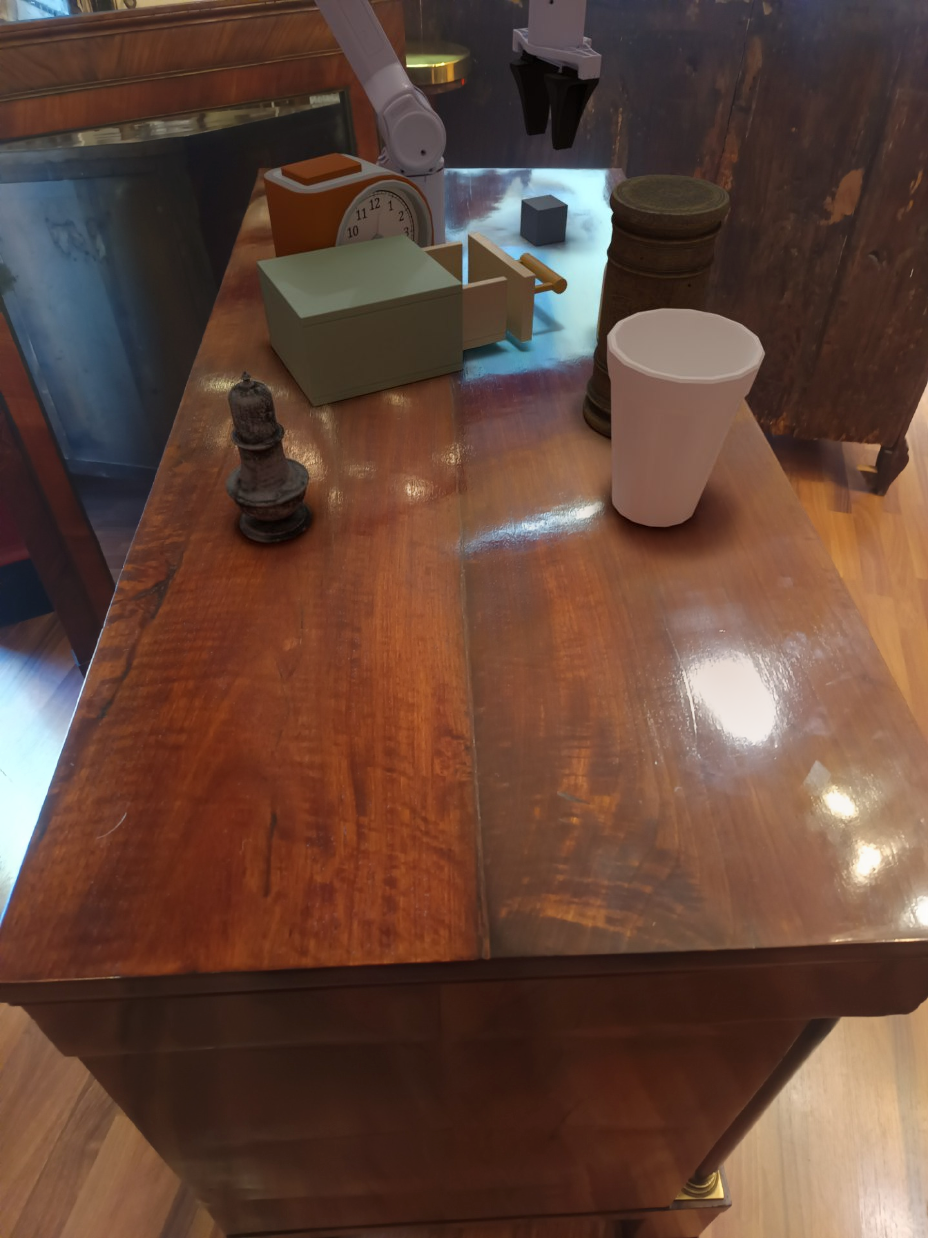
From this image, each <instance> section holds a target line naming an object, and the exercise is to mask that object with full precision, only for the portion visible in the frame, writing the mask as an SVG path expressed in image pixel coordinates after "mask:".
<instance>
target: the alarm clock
mask: <svg viewBox="0 0 928 1238" xmlns="http://www.w3.org/2000/svg"><path fill="white" fill-rule="evenodd" d="M375 164H376V163H372V162H370V161H367V160H365V159H362V158H360V157H358V156H354V155H350V154H346V153H338V152H334V153H329V154H325V155H322V156H318V157H314V158H310V159H306V160H302V161H298V162H294V163H290V164H286V165H281V166H280V167H276V168H273V169H270V170H268V171H266V172H265V173H264V174H263V178H262V179H263V185H264V191H265V198H266V203H267V209H268V215H269V222H270V228H271V234H272V240H273V246H274V247H273V248H274V253H275V258H278V257H284V256H289V255H294V254H300V253H305V252H310V251H316V250H321V249H326V248H332V247H337V246H342V245H348V244H353V243H358V242H364V241H369V240H374V239H380V238H385V237H390V236H396V235H401V234H405V235H406V236H407V237H409V238H410V239H411V240H412V241H413V242H414V243H416V244H417V245H418V246H419V247H420V248H425V247H430V246H434V228H433V220H432V213H431V210H430V207H429V204H428V202H427V199H426V197H425V196H424V194H423V193H422V191H421V190H420V189H419V187H418V186H417V185H416V184H415V183H414V182H412V181H411V180H410V179H408V178H407V177H405V176H403V175H400V174H398V173H395V172H393V171H390V170H388V169H385V168H383V167H380V166H378V165H375Z"/></svg>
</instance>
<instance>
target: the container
mask: <svg viewBox="0 0 928 1238" xmlns="http://www.w3.org/2000/svg"><path fill="white" fill-rule="evenodd" d="M730 201H731V200H730V196H729V193H728V192H727V191H726V190H725V189H724V188H723V187H721V186H719V185H718V184H715V183H713V182H711V181H707V180H705V179H701V178H698V177H697V178H696V177H692V176H686V175H675V174H648V175H647V174H646V175H640V176H634V177H631V178H627V179H625V180H622V181H620V182H618V183H617V184H616V185H615V186H613V189H612V191H611V193H610V196H609V203H608V204H609V207H610V209H611V212H612V214H611V216H610V223H611V228H612V229H611V237H610V243H609V245H608V247H607V249H606V256H607V257H606V258H607V261H606V263H607V268H606V276H605V285H604V293H603V302H602V310H601V319H600V328H599V336H598V339H597V344H596V347H595V348H594V351H593V365H592V375H591V376H590V378H589V379H588V380H587V383H586V387H585V392H586V393H585V396H584V398H583V401H582V402H583V403H582V409H583V415H584V417H585V420H586V422H588V424H589V425H590V426H591V427H592V428H593V429H594V430H595V431H597V432H599V433H600V434H602V435H603V436H606V437H609V438H611V380H610V377H609V373H608V364H607V335H608V334H609V333H610V331H611V330H612V329H613V327H614V326H615V325H616V323H618V322H619V321H621V320H623V319H625V318H627V317H629V316H631V315H634V314H636V313H639V312H645V311H650V310H656V309H692V310H697V311H702V312H704V305H705V302H706V299H707V294H708V293H707V292H708V288H709V284H710V283H709V282H710V276H711V271H712V267H713V266H714V264H715V260H716V257H715V247H716V243H717V238H718V236H719V234H720V232H721V231H722V228H723V222H722V220H724V219H725V218H726V216H727V215H728V214H729V211H730V208H731V202H730Z"/></svg>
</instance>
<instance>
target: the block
mask: <svg viewBox="0 0 928 1238" xmlns="http://www.w3.org/2000/svg"><path fill="white" fill-rule="evenodd" d="M568 212H569V205H568V204H567V203H566V202H564V201H562V200H561V199H559V198H557V197H556V196H554V195H552V194H546V195H540V196H535V197H529V198H524V199H521V204H520V224H519V225H520V226H519V236H522V238H523V239H525V240H527V241H528V242H529V243H531V244H532V245H534V246H535V247H540V246H545V245H549V244H554V243H559V242H560V243H561V242H565V241H566V236H567V235H566V234H567V225H568V223H567V222H568Z"/></svg>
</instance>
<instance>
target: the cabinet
mask: <svg viewBox="0 0 928 1238" xmlns="http://www.w3.org/2000/svg"><path fill="white" fill-rule="evenodd" d="M255 265H256V268H257V274H258V280H259V281H258V282H259V286H260V292H261V297H262V302H263V307H264V308H263V309H264V313H265V319H266V325H267V330H268V336H269V341H270V346H271V347H272V349H273V351H275V353H276V355H277V356H278V357H279V359H280V360H281V361H282V363H283V365H284V366H285V367H286V370H287V371H288V372H289V373H290V375H291V376H292V377H293V378H294V380H295V382H296V383H297V385H298V386H299V387H300V389H301V390H302V392H303V393H304V395H305V397H306V398H307V399H308V401H309V402H310V403H311V405H312V406H313V407H314V408H315V407H319V406H324V405H326V404H331V403H335V402H339V401H342V400H346V399H347V400H348V399H351V398H355V397H358V396H363V395H367V394H370V393H374V392H378V391H383V390H387V389H391V388H396V387H399V386H403V385H406V384H411V383H415V382H419V381H423V380H427V379H431V378H435V377H440V376H443V375H447V374H452V373H455V372H459V371H463V370H464V350H463V293H462V292H463V285H464V283H463V284H462V283H461V282H460V281H459V280H458V279H456V278H455V277H454V276H453V275H452V274H451V273H449V272H448V271H447V270H446V269H445V268H444V267H442V266H441V265H440V264H439V263H438V262H437V261H435V260H434V259H433V258H432V257H431V256H430V255H428V254H427V253H426V252H425V251H424V250H423V249H421V248H420V247H419V246H418V245H417V244H416V243H414V242H413V241H412V240H411V239H410V238H409V237H407V236H406V235H405V234H401V235H396V236H390V237H385V238H380V239H374V240H369V241H364V242H358V243H353V244H348V245H342V246H337V247H332V248H326V249H321V250H316V251H310V252H305V253H300V254H294V255H289V256H284V257H278V258H276V257H273V258H268V259H267V258H266V259H263V260H257V261H256V264H255Z"/></svg>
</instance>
